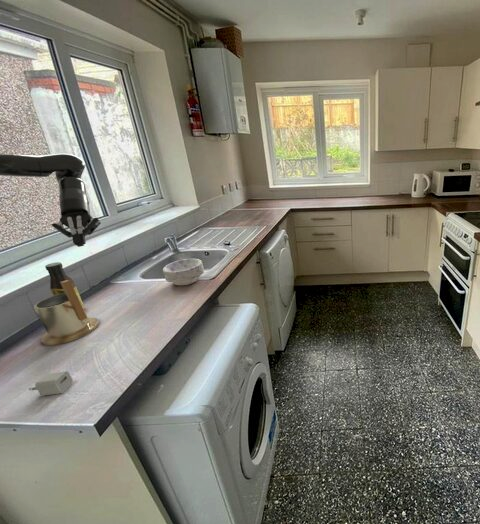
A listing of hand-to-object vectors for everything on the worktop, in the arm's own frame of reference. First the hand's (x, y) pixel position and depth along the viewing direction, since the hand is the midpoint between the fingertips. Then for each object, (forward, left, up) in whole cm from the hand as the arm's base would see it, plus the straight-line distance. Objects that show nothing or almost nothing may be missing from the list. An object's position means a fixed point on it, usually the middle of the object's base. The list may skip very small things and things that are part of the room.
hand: (79, 245), depth 97 cm
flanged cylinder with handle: (-6, -13, -25) cm, 28 cm away
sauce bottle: (-10, +4, -26) cm, 28 cm away
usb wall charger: (-5, -42, -26) cm, 49 cm away
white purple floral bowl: (+27, +10, -26) cm, 39 cm away
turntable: (-8, -11, -25) cm, 29 cm away
